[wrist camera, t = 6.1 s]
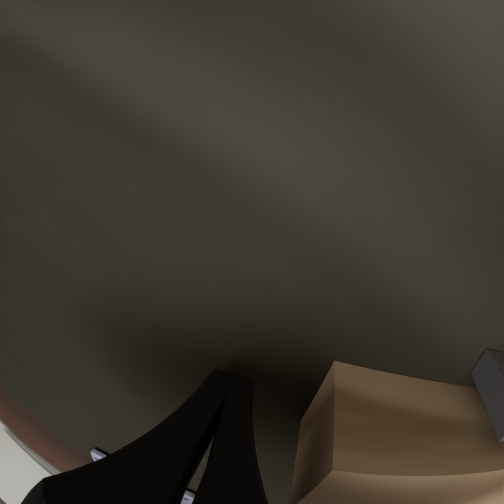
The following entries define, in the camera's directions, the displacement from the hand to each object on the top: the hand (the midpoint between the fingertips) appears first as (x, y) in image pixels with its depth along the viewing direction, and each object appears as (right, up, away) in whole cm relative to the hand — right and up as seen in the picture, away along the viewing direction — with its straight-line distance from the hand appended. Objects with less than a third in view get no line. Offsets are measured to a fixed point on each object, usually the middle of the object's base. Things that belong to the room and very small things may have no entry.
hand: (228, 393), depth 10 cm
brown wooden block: (+8, -2, 0) cm, 8 cm away
